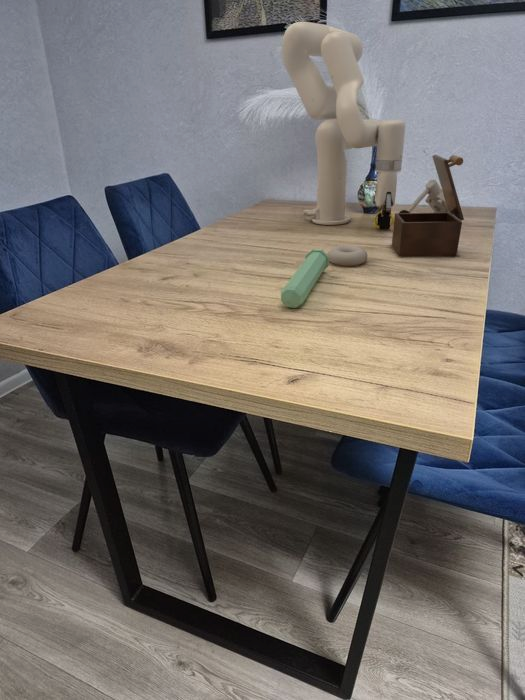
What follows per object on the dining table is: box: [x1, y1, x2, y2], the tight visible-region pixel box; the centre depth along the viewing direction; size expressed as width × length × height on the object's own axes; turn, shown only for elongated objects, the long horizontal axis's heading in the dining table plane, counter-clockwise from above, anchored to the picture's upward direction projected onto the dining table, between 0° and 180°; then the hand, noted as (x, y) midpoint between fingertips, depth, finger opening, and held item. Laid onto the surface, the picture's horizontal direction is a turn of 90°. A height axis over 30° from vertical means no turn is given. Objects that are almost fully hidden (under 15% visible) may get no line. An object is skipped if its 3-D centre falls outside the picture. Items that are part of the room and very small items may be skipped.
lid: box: [431, 154, 465, 222], centre depth 119 cm, size 15×12×5 cm
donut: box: [327, 244, 368, 267], centre depth 120 cm, size 10×4×10 cm
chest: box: [391, 212, 463, 258], centre depth 125 cm, size 15×12×9 cm
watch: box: [373, 211, 395, 230], centre depth 148 cm, size 6×3×6 cm, turn 62°
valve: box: [398, 179, 453, 215], centre depth 158 cm, size 10×20×15 cm
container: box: [280, 248, 330, 309], centre depth 103 cm, size 6×6×25 cm
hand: (383, 226), depth 149 cm, fingers open, 4 cm apart
